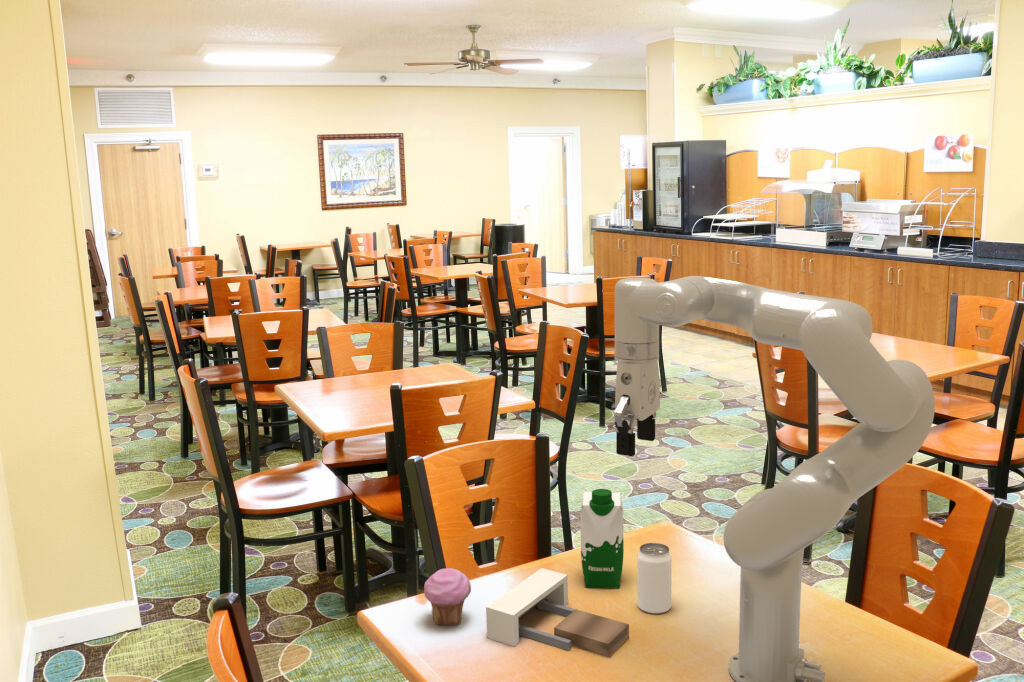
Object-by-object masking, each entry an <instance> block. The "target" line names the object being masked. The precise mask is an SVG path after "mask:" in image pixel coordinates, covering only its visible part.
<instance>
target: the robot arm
mask: <svg viewBox="0 0 1024 682" xmlns="http://www.w3.org/2000/svg"><path fill="white" fill-rule="evenodd" d="M699 320H701V321H707V322H715V323H719V324H724V325H728V326H733V327H736V328H740V329H741V330H743V331H745V332H747V333H748V335H750V337H751V338H752V339H753V340H754V341H756V342H758V343H760V344H765V345H770V346H777V347H781V348H782V347H783V348H788V349H794V350H797V351H798V350H799V351H802V353H803V355H804V356H805V358H806V359H807V361H808V363H809V364H810V365H811V367H812V368H813V369H814V370H815V372H816V373H817V375H819V377H820V378H821V379H822V380H823V382H824V383H825V384H826V385H827V386H828V388H829V389H830V390H831V391H832V393H833V394H834V395H835V396H836V398H838V400H839V401H840V402H841V404H842V405H843V406H844V408H846V410H847V411H848V412H849V413H850V415H852V416H853V417H854V419H855V420H857V421H858V422H859V423H858V424H857V425H856V426H854V427H852V429H850V430H849V431H847V432H846V433H845V434H844V435H843V436H842V437H840V438H839V439H837V440H836V441H834V442H833V443H831V445H829V446H827V447H826V448H825V449H823V450H821V451H820V452H819V453H817V454H815V455H814V456H812V457H810V458H808V459H805V460H804V461H803V462H802V463H800V464H798V465H797V466H796V467H795V468H794V469H793V470H792V471H790V473H789V474H788V475H787V476H786V477H785V478H784V479H782V480H781V481H780V482H778V483H777V484H776V485H774V486H773V487H772V488H767V489H763V490H761V491H758V492H756V493H755V494H754V495H752V496H751V497H750V498H749V499H748V500H747V501H746V502H745V503H743V504H742V506H740V508H739V509H737V511H735V513H734V514H733V515H732V516H731V517H730V518H729V519H728V520H727V522H726V525H725V528H724V531H723V545H724V549H725V551H726V554H727V556H728V557H729V558H730V559H731V561H732V562H734V563H735V564H736V565H737V566H738V567H740V575H739V576H740V580H739V585H740V586H739V619H738V620H739V621H738V622H739V623H738V625H739V628H738V629H739V630H738V631H739V632H738V652H736V653H734V654H733V656H731V657H730V659H729V662H728V671H729V675H730V676H731V678H732V679H733V680H734V681H735V682H808V681H811V682H825V680H826V672H825V671H824V670H822V664H821V663H817V662H814V661H813V662H812V661H808V660H807V658H805V657H804V656H805V652H804V651H805V649H802V648H800V626H801V625H800V624H801V601H802V600H801V599H802V598H801V595H802V576H803V575H802V574H803V561H804V554H805V553H804V552H805V549H806V548H807V547H809V546H810V545H812V544H813V543H815V542H817V541H818V540H819V539H821V538H822V537H823V536H825V535H827V534H828V533H829V532H830V531H831V530H832V529H834V527H836V526H837V525H838V524H839V523H840V521H841V520H842V518H843V517H844V516H845V515H846V513H848V510H849V509H850V507H852V505H853V504H854V503H855V502H856V501H857V500H859V498H861V497H862V496H864V495H865V494H867V493H868V492H869V491H871V490H872V489H874V488H875V487H876V486H878V485H879V484H881V483H882V482H883V481H885V480H886V479H887V478H889V477H890V476H892V475H893V474H894V473H896V472H897V471H899V470H900V469H901V468H902V467H904V466H905V465H906V464H908V462H909V461H910V460H912V458H913V457H914V456H915V455H916V454H917V453H918V451H919V450H920V449H921V447H922V446H923V445H924V443H925V441H926V440H927V438H928V435H929V433H930V431H931V429H932V425H933V421H934V418H935V409H936V406H935V404H936V403H935V401H936V400H935V393H934V389H933V385H932V383H931V380H930V378H929V376H928V375H927V373H926V372H925V371H924V370H923V368H921V367H920V366H919V365H917V364H916V363H914V362H912V361H909V360H905V359H892V360H886V359H885V358H884V356H882V355H881V353H880V352H879V351H878V350H877V349H876V346H874V344H872V343H871V338H872V335H873V330H874V329H873V328H874V326H873V321H872V317H871V314H870V313H869V312H868V311H867V309H865V307H863V306H862V305H860V304H858V303H855V302H853V301H850V300H844V299H840V298H833V297H825V296H818V295H811V294H804V293H796V292H790V291H785V290H779V289H772V288H767V287H763V286H760V285H753V284H749V283H745V282H742V281H736V280H730V279H724V278H717V277H710V276H703V275H690V276H685V277H680V278H675V279H671V280H667V281H661V282H658V281H656V280H655V279H653V278H651V277H650V278H649V277H648V278H647V277H627V278H622V279H619V280H618V281H617V282H616V283H615V286H614V361H616V362H617V365H616V366H617V367H616V374H615V375H616V376H615V377H616V378H615V379H616V380H615V395H614V400H615V402H614V404H615V407H614V408H615V410H614V412H613V416H614V420H615V421H614V426H615V435H616V436H615V437H616V438H615V441H616V444H615V446H616V449H615V450H616V454H617V455H618V456H619V455H622V456H626V457H634V456H635V455H636V438H637V440H640V441H648V442H654V441H655V440H656V417H657V411H659V409H660V408H661V391H660V390H661V389H660V387H661V386H660V369H659V368H660V367H659V360H660V326H663V327H669V328H676V327H677V328H678V327H682V326H685V325H687V324H690V323H692V322H695V321H699ZM628 422H629V423H628ZM636 424H637V427H636V429H637V431H636V432H637V433H636V432H634V431H635V426H636Z"/></svg>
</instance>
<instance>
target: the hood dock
mask: <svg viewBox="0 0 1024 682" xmlns="http://www.w3.org/2000/svg"><path fill="white" fill-rule="evenodd" d="M568 579H569V578H568V574H565V573H563V572H562V573H561V572H559V571H558V572H557V571H555V570H549V569H547V568H543V567H541V568H540V569H538V570H537V571H536V572H534V573H533V574H531V575H530V576H528V577H527V578H526V579H524V580H522V581H521V582H520V583H518V584H516V585H515V586H514V587H512V588H511V589H510V590H508V591H507V592H505V593H504V594H503V595H500V597H498V598H496V599H495V600H494V601H493V602H491V603H489V604H488V605H486V606H485V612H486V613H485V615H486V616H485V618H486V621H485V622H486V638H487V639H490V640H493V641H497V642H499V643H502V644H505V645H509V646H510V647H511V646H512V647H516V646H517V645H519V643H520V637H524V638H527V639H530V640H533V641H537V642H540V643H542V644H546V645H549V646H553V647H556V648H559V649H562V650H565V651H568V652H569V651H570V650H572V646H571V640H568V639H565V638H562V637H559V636H555V635H554V634H552V633H548V632H546V631H542V630H539V629H535V628H532V627H528V626H526V625H522V624H520V623H519V619H520V618H521V617H523V616H524V615H525V614H526V613H528V612H529V611H531V610H532V609H533V608H534V607H536V606H537V609H538V610H541V611H545V612H549V613H552V614H555V615H559V616H562V617H564V618H566V617H567V616H568V615H570V614H571V613H572V612H573V611H574V610H575V608H572V607H569V606H567V605H568V604H569V597H568V596H569V594H568V593H569V590H568V588H569V587H568V586H569V585H568V584H569V582H568Z"/></svg>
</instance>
